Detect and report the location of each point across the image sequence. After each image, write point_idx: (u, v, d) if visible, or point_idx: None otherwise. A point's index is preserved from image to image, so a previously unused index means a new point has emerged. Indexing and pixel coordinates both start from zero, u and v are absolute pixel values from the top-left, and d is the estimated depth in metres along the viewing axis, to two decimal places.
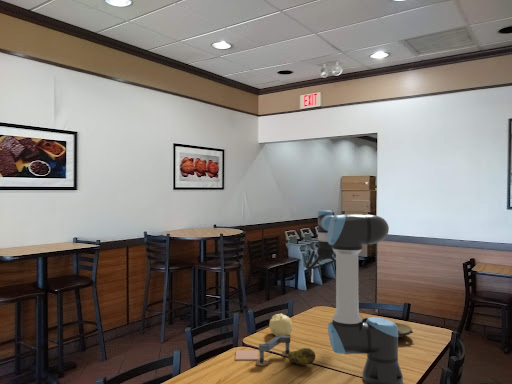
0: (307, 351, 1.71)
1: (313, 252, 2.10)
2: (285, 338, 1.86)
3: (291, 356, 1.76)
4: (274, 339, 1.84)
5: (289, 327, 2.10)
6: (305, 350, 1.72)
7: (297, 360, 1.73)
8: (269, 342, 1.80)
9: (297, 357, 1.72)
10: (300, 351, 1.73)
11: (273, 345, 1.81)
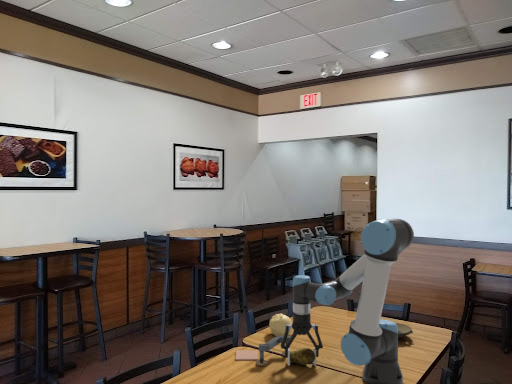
0: (307, 351, 1.72)
1: (287, 328, 1.74)
2: None
3: (291, 356, 1.76)
4: (274, 339, 1.84)
5: None
6: (305, 350, 1.72)
7: (297, 360, 1.73)
8: (269, 342, 1.80)
9: (297, 357, 1.72)
10: (300, 351, 1.73)
11: (273, 345, 1.81)
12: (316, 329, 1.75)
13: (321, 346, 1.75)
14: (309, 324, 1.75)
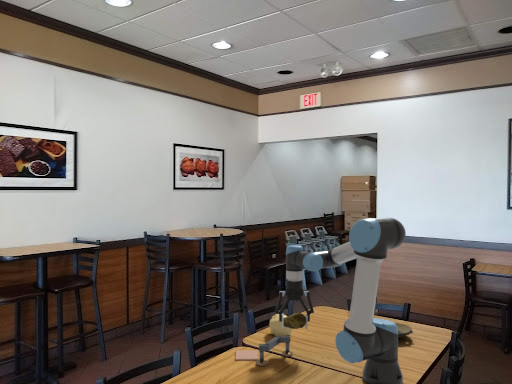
0: (298, 315, 1.84)
1: (280, 294, 1.87)
2: (285, 338, 1.86)
3: (284, 321, 1.88)
4: (274, 339, 1.84)
5: None
6: (297, 314, 1.84)
7: (289, 324, 1.86)
8: (269, 342, 1.80)
9: (289, 321, 1.85)
10: (292, 315, 1.85)
11: (273, 345, 1.81)
12: (308, 295, 1.87)
13: (312, 311, 1.87)
14: (301, 290, 1.87)
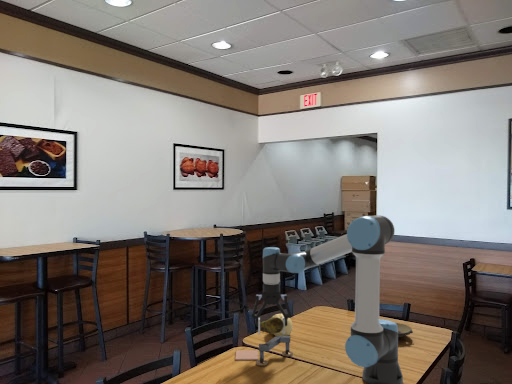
0: (275, 320, 1.78)
1: (257, 298, 1.80)
2: (285, 338, 1.86)
3: (261, 325, 1.82)
4: (274, 339, 1.84)
5: (289, 327, 2.10)
6: (273, 319, 1.78)
7: (266, 328, 1.79)
8: (269, 342, 1.80)
9: (266, 326, 1.79)
10: (269, 320, 1.79)
11: (273, 345, 1.81)
12: (285, 299, 1.81)
13: (290, 315, 1.80)
14: (278, 294, 1.81)
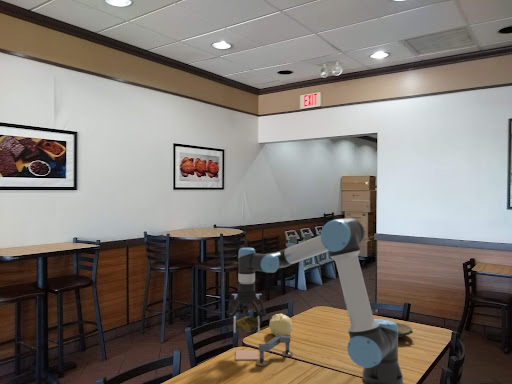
0: (250, 318, 1.82)
1: (232, 297, 1.85)
2: (285, 338, 1.86)
3: (236, 324, 1.87)
4: (274, 339, 1.84)
5: (289, 327, 2.10)
6: (248, 317, 1.83)
7: (241, 327, 1.84)
8: (269, 342, 1.80)
9: (241, 324, 1.83)
10: (244, 318, 1.84)
11: (273, 345, 1.81)
12: (260, 298, 1.85)
13: (264, 314, 1.85)
14: (253, 293, 1.85)
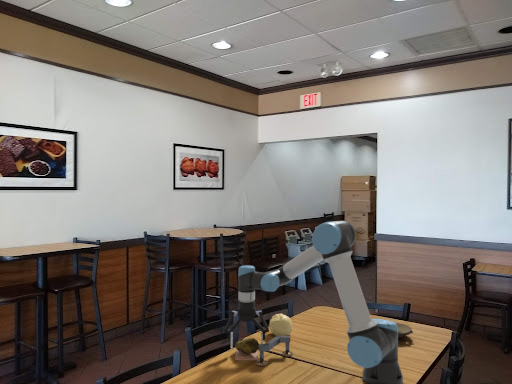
0: (250, 341, 1.82)
1: (232, 314, 1.85)
2: (285, 338, 1.86)
3: (237, 345, 1.87)
4: (274, 339, 1.84)
5: (289, 327, 2.10)
6: (249, 340, 1.83)
7: (242, 349, 1.84)
8: (269, 342, 1.80)
9: (242, 347, 1.83)
10: (245, 341, 1.84)
11: (273, 345, 1.81)
12: (260, 315, 1.85)
13: (267, 330, 1.85)
14: (253, 311, 1.85)
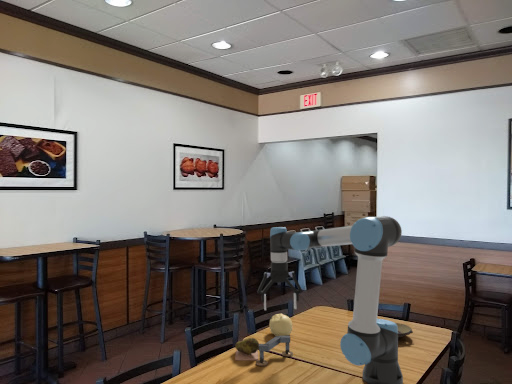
0: (251, 340, 1.82)
1: (265, 275, 1.84)
2: (285, 338, 1.86)
3: (237, 345, 1.87)
4: (274, 339, 1.84)
5: (289, 327, 2.10)
6: (249, 339, 1.83)
7: (242, 348, 1.84)
8: (269, 342, 1.80)
9: (242, 346, 1.83)
10: (245, 340, 1.84)
11: (273, 345, 1.81)
12: (293, 275, 1.85)
13: (301, 290, 1.85)
14: (286, 272, 1.85)
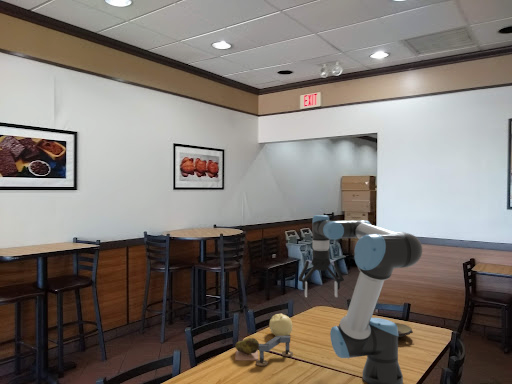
0: (251, 340, 1.82)
1: (307, 263, 1.85)
2: (285, 338, 1.86)
3: (237, 345, 1.87)
4: (274, 339, 1.84)
5: (289, 327, 2.10)
6: (249, 339, 1.83)
7: (242, 348, 1.84)
8: (269, 342, 1.80)
9: (242, 346, 1.83)
10: (245, 340, 1.84)
11: (273, 345, 1.81)
12: (335, 264, 1.85)
13: (342, 279, 1.85)
14: (328, 260, 1.85)
